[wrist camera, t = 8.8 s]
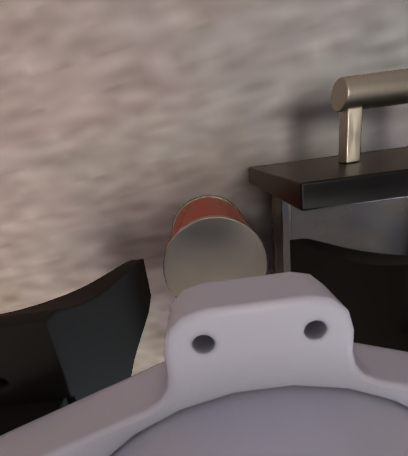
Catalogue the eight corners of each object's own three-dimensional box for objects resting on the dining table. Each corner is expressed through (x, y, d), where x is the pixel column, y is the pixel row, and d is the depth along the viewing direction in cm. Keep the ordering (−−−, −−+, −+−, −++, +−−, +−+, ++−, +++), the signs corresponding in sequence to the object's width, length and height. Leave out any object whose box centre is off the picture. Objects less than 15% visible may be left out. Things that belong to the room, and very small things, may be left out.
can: (241, 190, 18) (265, 210, 12) (247, 259, 19) (270, 306, 13) (167, 200, 18) (154, 224, 12) (178, 268, 19) (172, 319, 13)
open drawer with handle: (457, 77, 16) (736, -1, 8) (421, 332, 21) (562, 445, 13) (244, 104, 16) (298, 56, 8) (262, 353, 21) (305, 479, 13)
